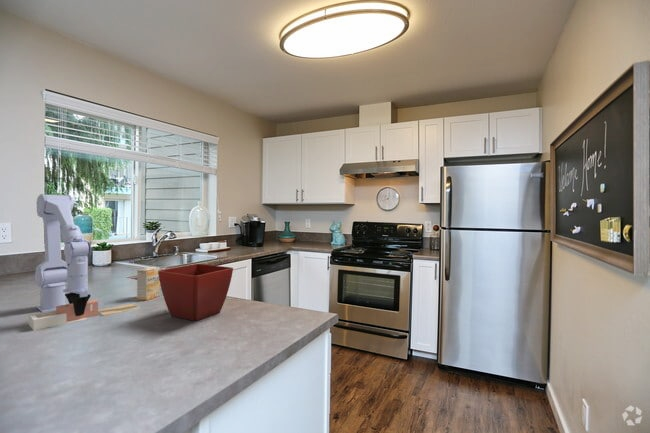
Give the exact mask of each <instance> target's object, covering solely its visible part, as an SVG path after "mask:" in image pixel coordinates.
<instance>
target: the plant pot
mask: <svg viewBox="0 0 650 433" xmlns="http://www.w3.org/2000/svg"><path fill="white" fill-rule="evenodd" d="M233 272H234V267H231V266H223V265H212V264H203V263H194V264H188V265H182V266H177V267H171V268H165V269H160V270H159V271H158V275H159V281H160V289H161V293H162V296H163V299H164V302H165V304H166V307H167V310H168V312H169V314H170V316H171V317H175V318H180V319H185V320H188V321H191V322H197V321H199V320H202V319H204V318H207V317H210V316H213V315H215V314H218V313H220V312H221V311H222V308H223V306H224V303H225V300H226V298H227V296H228V293H229V290H230V289H229V288H230V286H231V281H232V277H233Z"/></svg>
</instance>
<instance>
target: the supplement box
mask: <svg viewBox="0 0 650 433" xmlns="http://www.w3.org/2000/svg"><path fill="white" fill-rule="evenodd" d="M159 270H161V268H160V267H159V266H152V267H151V266H150V267H146V268H142V269H137V274H136V275H137V279H136V280H137V281H136V283H137V284H136V290H137V291H136V293H137V294H136V300H137V301H144V302H145V301H146V302H147V301H149V300H151V299H155V298H157V297H160V289H161V285H160V281H159V275H158V271H159Z"/></svg>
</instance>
